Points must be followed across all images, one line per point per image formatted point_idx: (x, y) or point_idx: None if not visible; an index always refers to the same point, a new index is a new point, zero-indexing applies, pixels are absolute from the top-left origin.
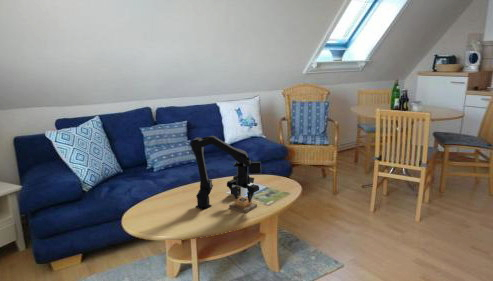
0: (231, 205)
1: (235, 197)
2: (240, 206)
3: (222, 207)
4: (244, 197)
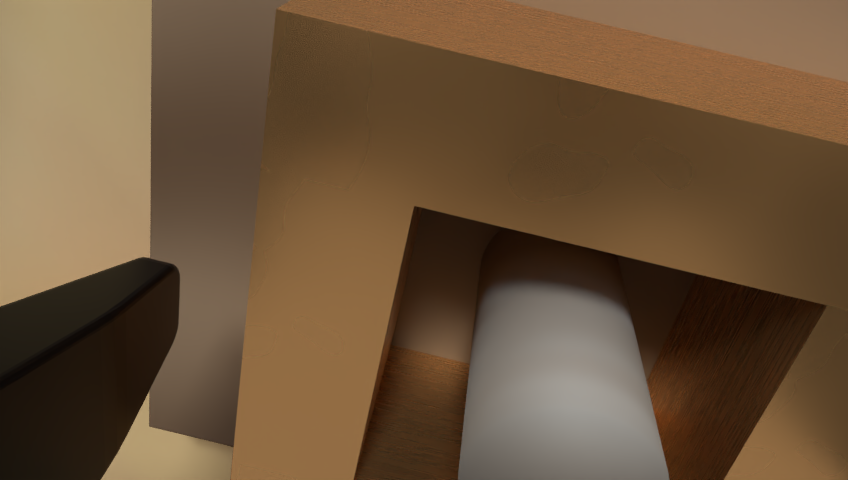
0: (215, 418)
1: (124, 420)
2: None
3: None
4: (518, 125)
